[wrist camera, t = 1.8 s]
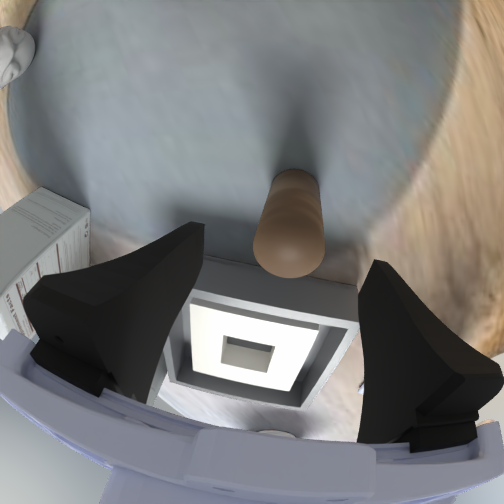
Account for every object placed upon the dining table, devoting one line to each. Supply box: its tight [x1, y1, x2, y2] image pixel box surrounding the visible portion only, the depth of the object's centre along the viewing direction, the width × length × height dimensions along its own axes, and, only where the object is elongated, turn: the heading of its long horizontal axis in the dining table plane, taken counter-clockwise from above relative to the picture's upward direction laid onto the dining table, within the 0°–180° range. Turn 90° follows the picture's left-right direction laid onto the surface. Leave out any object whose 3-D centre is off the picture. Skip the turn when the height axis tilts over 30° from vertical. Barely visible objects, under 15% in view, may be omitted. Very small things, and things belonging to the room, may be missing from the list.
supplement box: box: [0, 187, 90, 340], centre depth 18 cm, size 7×7×13 cm
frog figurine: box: [0, 26, 35, 89], centre depth 11 cm, size 6×7×7 cm
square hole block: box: [163, 255, 360, 411], centre depth 24 cm, size 15×15×4 cm
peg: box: [253, 169, 325, 278], centre depth 15 cm, size 3×3×7 cm
